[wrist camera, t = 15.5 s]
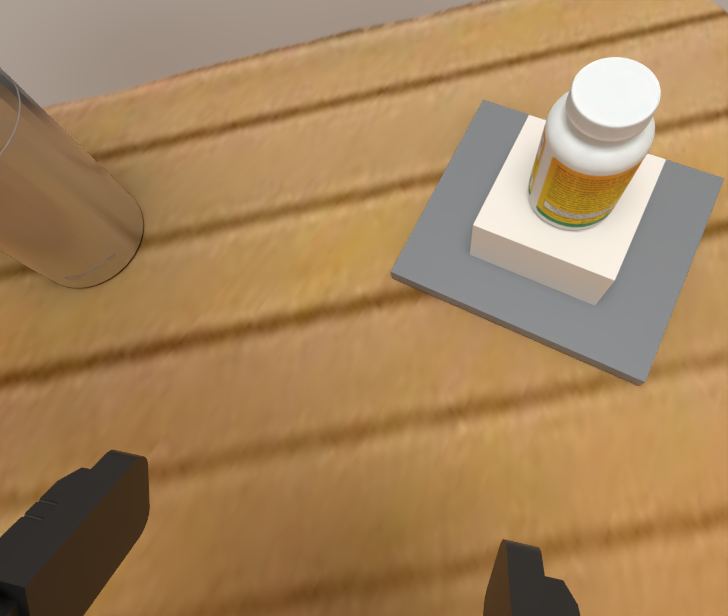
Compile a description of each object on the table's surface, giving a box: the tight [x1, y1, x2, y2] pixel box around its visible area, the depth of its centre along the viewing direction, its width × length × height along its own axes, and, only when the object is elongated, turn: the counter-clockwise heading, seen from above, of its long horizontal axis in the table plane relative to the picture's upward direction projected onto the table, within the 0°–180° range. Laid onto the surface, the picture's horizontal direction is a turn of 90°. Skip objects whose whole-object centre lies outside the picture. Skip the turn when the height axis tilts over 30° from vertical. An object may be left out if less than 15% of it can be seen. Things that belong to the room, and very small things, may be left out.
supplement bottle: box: [528, 57, 661, 230], centre depth 30 cm, size 5×5×10 cm
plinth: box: [470, 115, 666, 306], centre depth 37 cm, size 9×9×4 cm
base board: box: [391, 100, 724, 386], centre depth 40 cm, size 18×16×1 cm
